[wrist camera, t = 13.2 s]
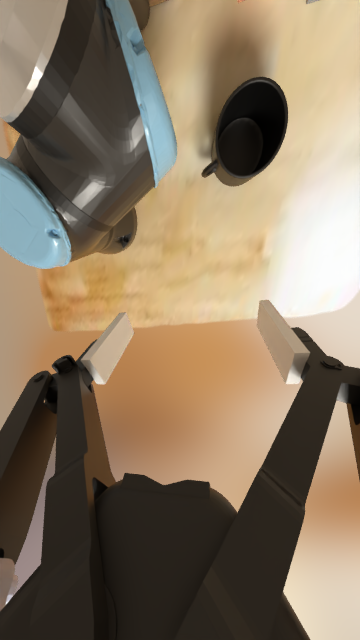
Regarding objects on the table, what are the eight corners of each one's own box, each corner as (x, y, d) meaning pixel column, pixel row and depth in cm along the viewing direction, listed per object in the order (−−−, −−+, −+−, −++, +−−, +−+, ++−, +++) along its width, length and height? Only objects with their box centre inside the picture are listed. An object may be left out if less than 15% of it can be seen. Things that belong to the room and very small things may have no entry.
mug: (190, 151, 30) (187, 131, 23) (256, 96, 26) (279, 49, 18) (211, 205, 34) (214, 203, 27) (271, 165, 30) (295, 149, 22)
